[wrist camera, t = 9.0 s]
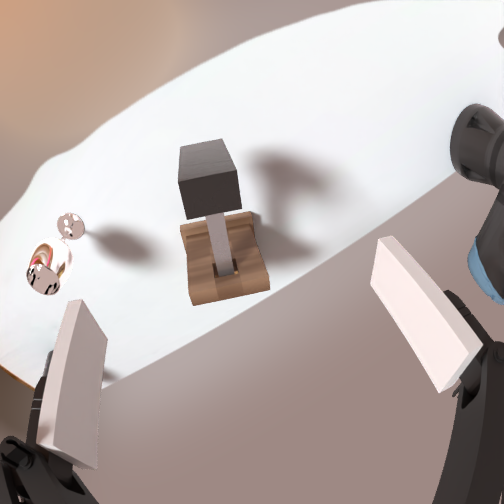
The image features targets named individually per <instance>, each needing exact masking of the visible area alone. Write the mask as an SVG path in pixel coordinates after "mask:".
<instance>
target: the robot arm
mask: <svg viewBox="0 0 504 504" xmlns="http://www.w3.org/2000/svg"><path fill="white" fill-rule="evenodd" d="M450 154H451V160H452V163H453V166H454V168H455V170H456V171H457V172H458V173H459V174H460V175H462V176H463V177H465V178H466V179H469V180H471V181H476V182H480V183H485V184H489V185H493V186H495V187H496V188H498V189H499V193H498V195H497V197H496V200H495V202H494V204H493V206H492V208H491V210H490V212H489V214H488V216H487V218H486V220H485V222H484V224H483V226H482V228H481V230H480V232H479V234H478V235H477V236H476V237H475V240H474V244H473V246H472V248H471V250H470V252H469V254H468V267H469V270H470V272H471V274H472V276H473V278H474V280H475V281H476V282H477V284H478V285H479V287H480V288H481V289H482V290H483V291H484V292H485V294H486V295H488V296H490V297H491V298H492V300H493V301H495V302H496V303H498V304H500V305H504V120H503V119H502V118H501V117H500V116H499V115H498V114H496V113H495V112H494V111H493V110H492V109H490V108H488V107H486V106H483V105H480V104H472V105H470V106H468V107H466V108H465V109H464V110H463V111H462V112H461V114H460V115H459V117H458V118H457V120H456V123H455V125H454V128H453V131H452V136H451V143H450ZM370 285H371V286H372V288H373V289H374V291H375V292H376V293H377V295H378V296H379V298H380V299H381V301H382V302H383V304H384V305H385V307H386V308H387V310H388V311H389V313H390V314H391V316H392V317H393V319H394V320H395V322H396V323H397V325H398V327H399V328H400V329H401V331H402V333H403V334H404V336H405V337H406V339H407V341H408V342H409V344H410V345H411V347H412V349H413V350H414V352H415V353H416V355H417V357H418V358H419V360H420V362H421V363H422V365H423V367H424V368H425V370H426V372H427V373H428V375H429V377H430V378H431V380H432V382H433V384H434V385H435V387H436V389H437V391H438V392H439V393H440V392H442V391H444V390H446V389H447V388H449V387H451V386H452V385H454V383H455V382H456V381H457V380H458V378H460V379H461V381H462V383H461V384H460V385H459V386H458V387H457V389H456V390H455V391H454V392H453V395H452V397H455V395H456V394H457V393H458V392H459V395H458V397H457V398H458V402H457V408H456V415H455V420H454V425H453V430H452V435H451V440H450V445H449V449H448V453H447V457H446V461H445V465H444V468H443V472H442V475H441V479H440V482H439V485H438V488H437V491H436V494H435V497H434V500H433V503H432V504H499V500H500V496H501V492H502V500H501V504H504V343H503V342H499V341H495V342H494V341H493V340H492V339H491V338H490V336H489V335H488V334H487V332H486V331H485V330H484V328H483V327H482V326H481V324H480V323H479V322H478V320H477V319H476V318H475V317H474V315H473V314H471V312H470V310H469V309H468V308H467V307H465V306H466V305H465V304H464V303H463V302H462V300H461V299H460V298H459V297H458V296H457V295H455V294H454V293H452V292H451V291H449V290H446V291H444V292H442V291H441V289H440V288H439V287H438V286H437V285H436V283H435V282H434V281H433V280H432V279H431V278H430V276H429V275H428V274H427V273H426V272H425V271H424V269H423V268H422V267H421V266H420V265H419V264H418V263H417V262H416V261H415V259H414V258H413V257H412V256H411V255H410V254H409V253H408V252H407V251H406V250H405V249H404V247H403V246H402V245H401V244H400V243H399V242H398V241H397V240H396V239H395V238H394V237H393V236H387V237H383V238H379V239H378V244H377V251H376V256H375V262H374V267H373V273H372V278H371V283H370ZM107 341H108V339H107V337H106V336H105V334H104V333H103V331H102V330H101V328H100V327H99V325H98V324H97V322H96V321H95V319H94V317H93V316H92V314H91V313H90V311H89V309H88V308H87V306H86V305H85V303H84V301H83V300H82V299H79V300H74V301H68V304H67V307H66V310H65V313H64V316H63V320H62V323H61V326H60V329H59V333H58V336H57V340H56V343H55V347H54V351H53V355H52V359H51V363H50V367H49V371H48V376H43V377H41V378H40V380H39V382H38V384H37V386H36V388H35V392H34V398H33V399H34V401H33V402H32V410H31V413H30V419H29V425H28V432H27V439H26V444H25V443H24V442H22V441H21V440H19V439H17V438H16V437H14V436H8V437H6V438H4V440H3V441H2V442H1V444H0V504H99V503H98V502H97V501H96V499H95V498H94V497H93V496H92V494H91V493H90V492H89V490H88V489H87V488H86V486H85V485H84V484H83V482H82V481H81V479H80V478H79V476H78V475H77V474H76V473H75V472H74V471H73V470H72V466H73V465H75V466H77V467H79V468H81V469H92V470H97V445H98V424H99V409H100V397H101V387H102V378H103V369H104V362H105V354H106V347H107ZM17 495H18V496H20V497H21V502H19V499H18V496H17Z"/></svg>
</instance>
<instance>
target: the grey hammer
mask: <svg viewBox="0 0 504 504" xmlns="http://www.w3.org/2000/svg"><path fill="white" fill-rule="evenodd" d="M178 184H179V189H180V193H181V197H182V201H183V205H184V209H185V213H186V217H187V220H189V219H194V218H199V217H203V216H205V217H206V221H207V226H208V231H209V235H210V240H211V244H212V249H213V253H214V258H215V262H216V266H217V271H218V275H219V277H223V276H227V275H232V274H235V273H234V268H233V262H232V257H231V252H230V246H229V241H228V235H227V230H226V224H225V218H224V213H223V212H228V211H233V210H238V209H242V204H241V197H240V190H239V183H238V176H237V170H236V167H235V165H234V163H233V161H232V159H231V157H230V154H229V152H228V150H227V148H226V146H225V144H224V142H223V140H222V139H218V140H212V141H207V142H202V143H197V144H192V145H187V146H182V147H180V157H179V172H178Z"/></svg>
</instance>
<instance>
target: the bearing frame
mask: <svg viewBox="0 0 504 504" xmlns="http://www.w3.org/2000/svg"><path fill="white" fill-rule="evenodd" d="M224 218H225V224H226V230H227V235H228V241H229V246H230V252H231V257H232V262H233V268H234V273H235V274H232V275H227V276H223V277H219V275H218V271H217V266H216V262H215V258H214V253H213V249H212V244H211V240H210V235H209V231H208V226H207V221H206V220H204V221H199V222H194V223H189V224H184V225H180V232H181V236H182V239H183V243H184V247H185V250H186V254H187V272H188V290H189V296H190V299H191V302H192V304H193V306H196V305H201V304H206V303H211V302H216V301H221V300H225V299H230V298H235V297H240V296H244V295H249V294H254V293H258V292H263V291H267V290H270V281H269V275H268V272H267V270H266V267H265V265H264V262H263V259H262V257H261V254H260V251H259V249H258V246H257V244H256V241H255V235H254V227H253V218H252V214H251V212H250V211H249V212H244V213H238V214H233V215H228V216H224ZM236 271H238V273H237V274H236ZM215 276H216V278H215Z"/></svg>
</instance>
